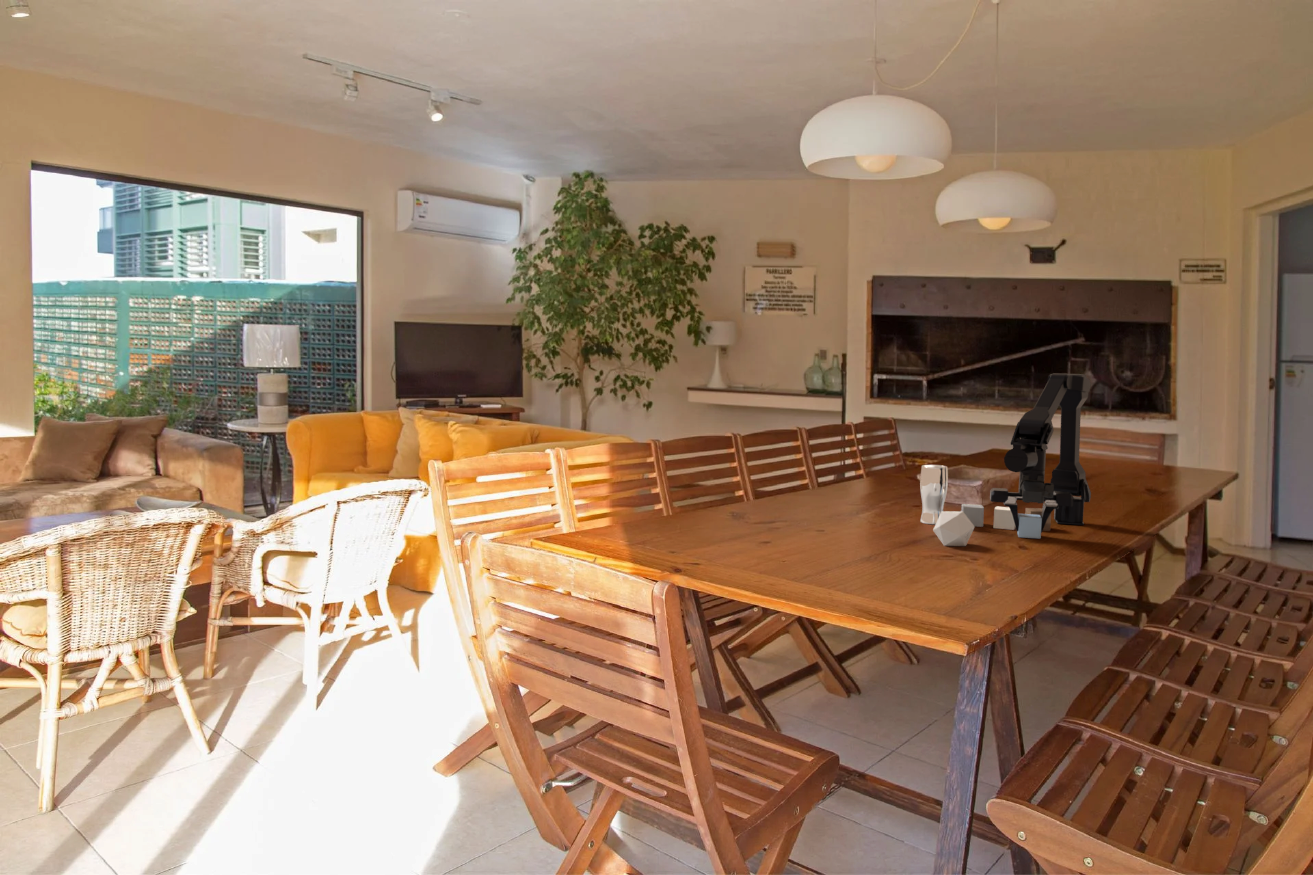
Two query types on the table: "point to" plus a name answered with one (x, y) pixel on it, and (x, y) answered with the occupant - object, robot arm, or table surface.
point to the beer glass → (933, 492)
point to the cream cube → (1003, 518)
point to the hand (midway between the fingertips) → (1029, 531)
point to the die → (953, 528)
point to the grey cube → (974, 513)
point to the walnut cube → (1039, 512)
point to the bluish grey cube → (1029, 526)
